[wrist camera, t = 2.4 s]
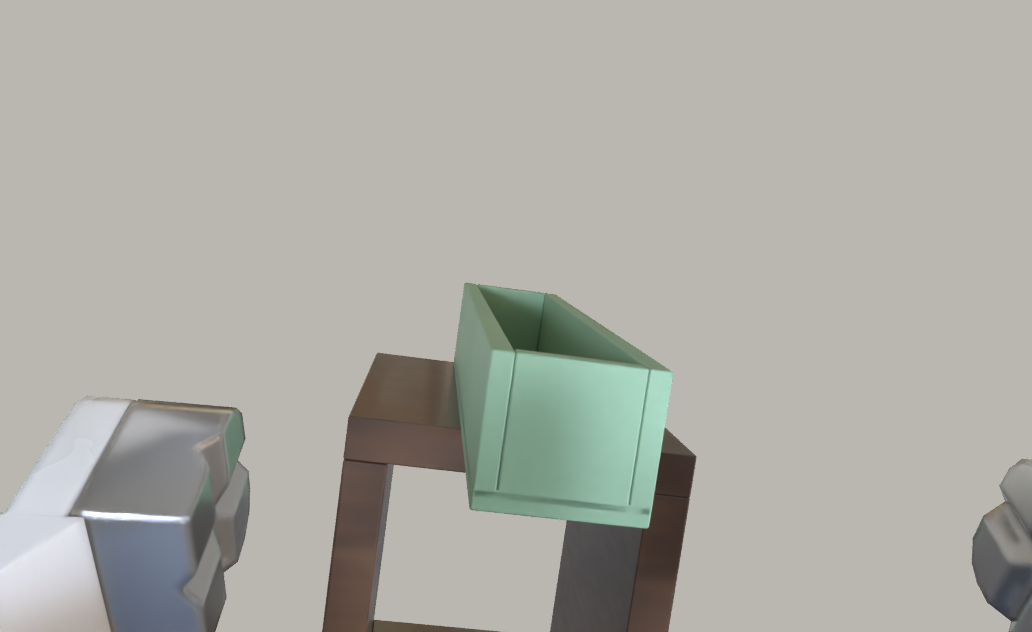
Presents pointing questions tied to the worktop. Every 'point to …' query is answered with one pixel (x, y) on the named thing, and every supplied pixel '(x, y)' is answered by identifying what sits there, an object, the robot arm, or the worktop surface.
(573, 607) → the shelf stand
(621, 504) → the storage tray
